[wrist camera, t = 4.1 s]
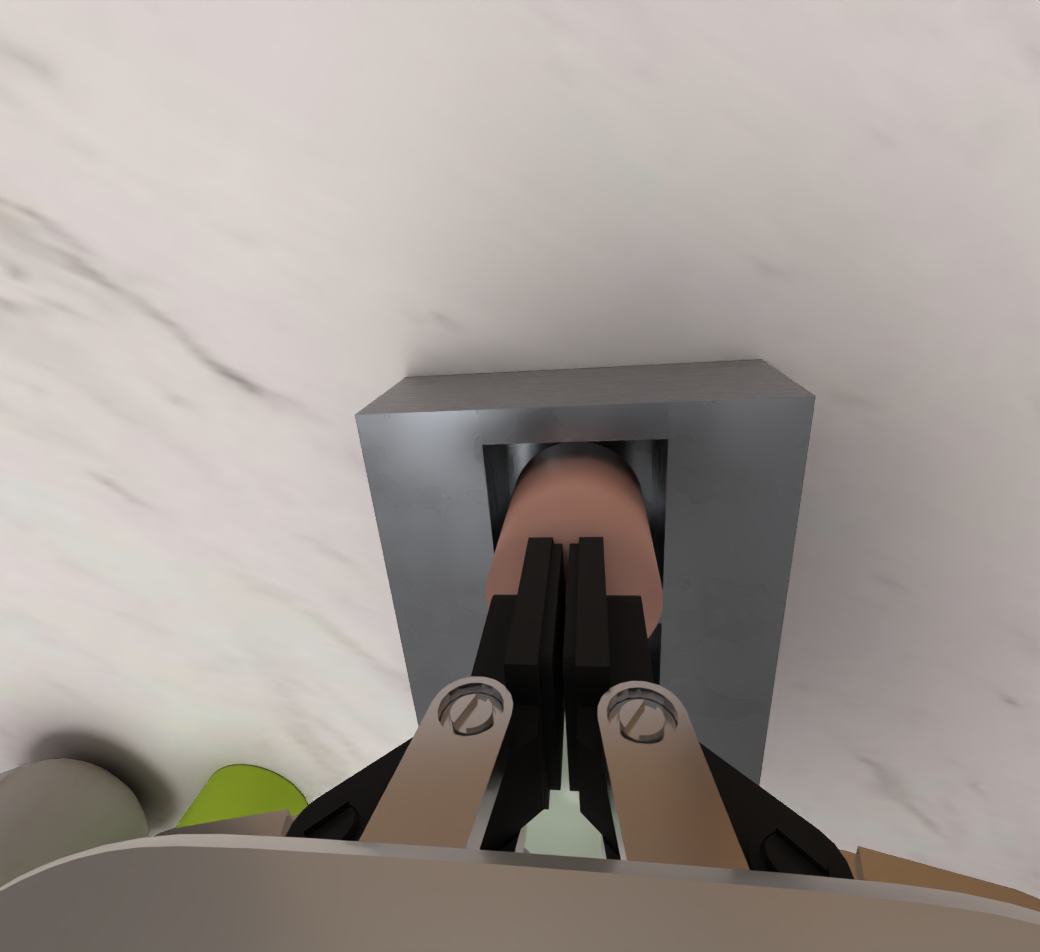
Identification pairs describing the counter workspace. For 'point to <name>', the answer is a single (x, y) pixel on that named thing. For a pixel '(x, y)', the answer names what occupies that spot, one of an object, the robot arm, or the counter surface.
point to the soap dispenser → (242, 796)
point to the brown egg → (581, 521)
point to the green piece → (563, 823)
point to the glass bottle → (62, 813)
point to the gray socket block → (668, 502)
